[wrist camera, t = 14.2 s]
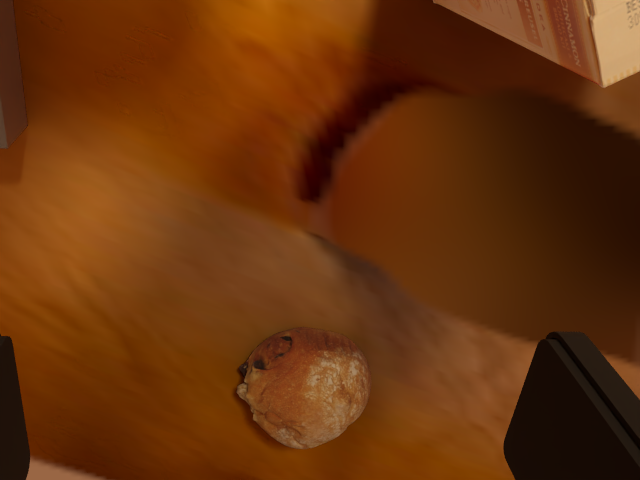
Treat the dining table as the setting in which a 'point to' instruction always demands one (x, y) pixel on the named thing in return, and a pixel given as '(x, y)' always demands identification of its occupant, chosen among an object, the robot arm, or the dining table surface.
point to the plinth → (10, 79)
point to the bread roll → (305, 386)
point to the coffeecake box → (566, 32)
